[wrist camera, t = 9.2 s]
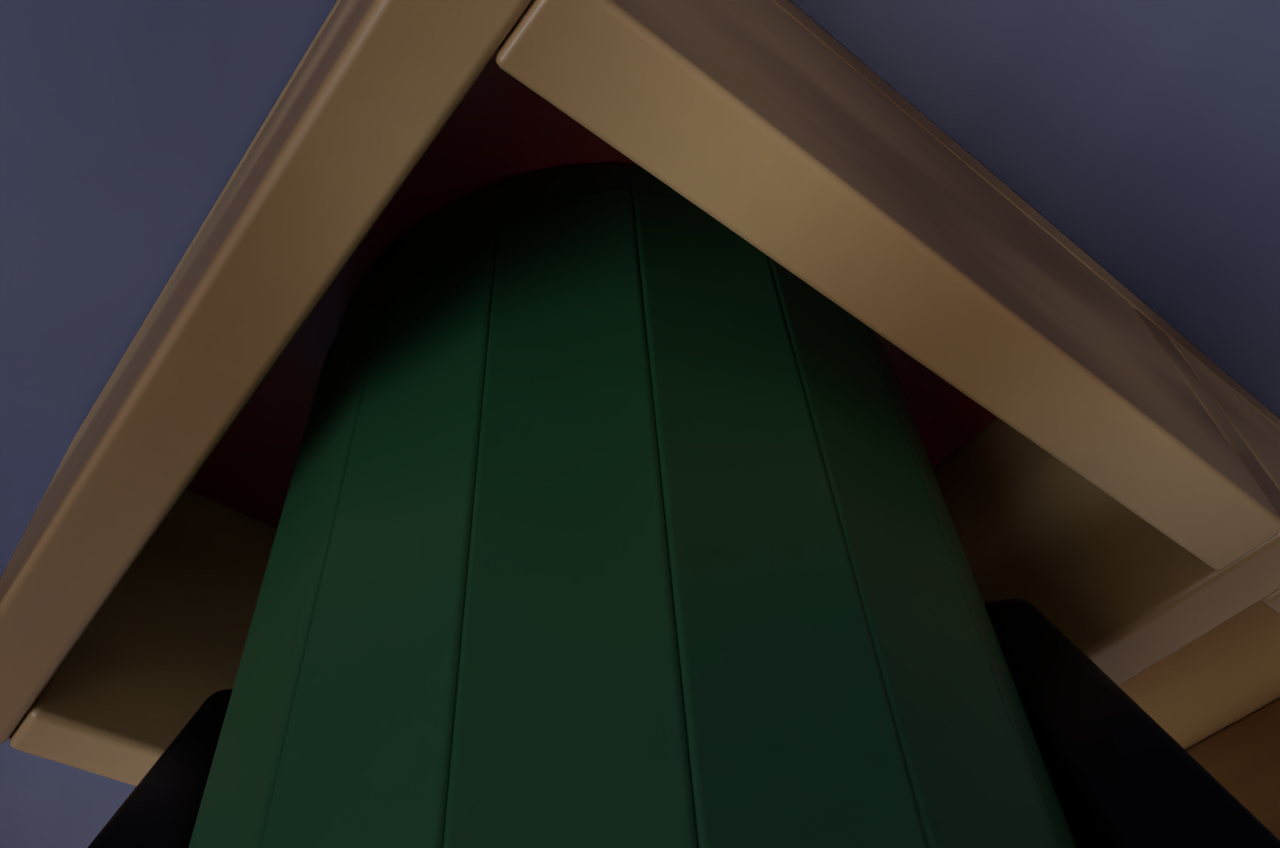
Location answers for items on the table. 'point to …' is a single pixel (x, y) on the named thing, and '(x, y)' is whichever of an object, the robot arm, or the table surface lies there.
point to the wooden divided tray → (763, 216)
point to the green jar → (615, 563)
